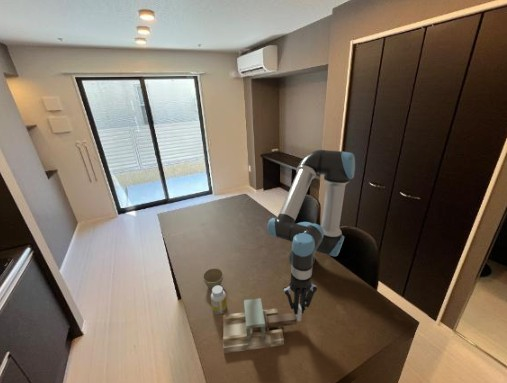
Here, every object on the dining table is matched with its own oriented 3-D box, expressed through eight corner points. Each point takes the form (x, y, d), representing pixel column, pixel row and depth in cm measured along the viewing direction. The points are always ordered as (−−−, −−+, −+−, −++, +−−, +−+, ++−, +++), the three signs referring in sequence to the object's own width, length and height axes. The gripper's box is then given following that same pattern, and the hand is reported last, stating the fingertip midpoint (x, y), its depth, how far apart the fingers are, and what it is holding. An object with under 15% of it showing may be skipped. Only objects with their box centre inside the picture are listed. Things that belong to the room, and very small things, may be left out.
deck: (276, 313, 100) (276, 293, 96) (283, 344, 88) (284, 324, 83) (224, 319, 98) (221, 300, 94) (223, 353, 85) (221, 332, 81)
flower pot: (205, 295, 110) (203, 284, 108) (203, 281, 119) (202, 270, 117) (225, 291, 113) (224, 280, 110) (222, 277, 122) (221, 266, 119)
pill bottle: (227, 302, 107) (225, 283, 102) (226, 314, 101) (224, 294, 96) (213, 303, 106) (211, 284, 102) (211, 315, 100) (208, 295, 96)
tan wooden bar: (293, 315, 96) (294, 307, 94) (297, 326, 91) (297, 317, 89) (251, 321, 94) (250, 312, 92) (252, 332, 89) (252, 323, 87)
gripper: (314, 264, 88) (310, 308, 97) (281, 268, 87) (280, 312, 96) (322, 278, 81) (316, 324, 90) (286, 282, 80) (284, 329, 89)
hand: (298, 318), depth 93 cm, fingers closed
